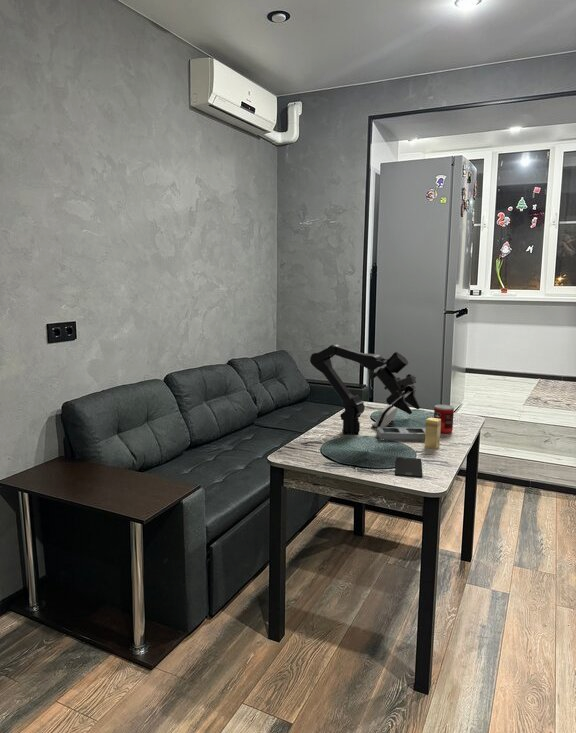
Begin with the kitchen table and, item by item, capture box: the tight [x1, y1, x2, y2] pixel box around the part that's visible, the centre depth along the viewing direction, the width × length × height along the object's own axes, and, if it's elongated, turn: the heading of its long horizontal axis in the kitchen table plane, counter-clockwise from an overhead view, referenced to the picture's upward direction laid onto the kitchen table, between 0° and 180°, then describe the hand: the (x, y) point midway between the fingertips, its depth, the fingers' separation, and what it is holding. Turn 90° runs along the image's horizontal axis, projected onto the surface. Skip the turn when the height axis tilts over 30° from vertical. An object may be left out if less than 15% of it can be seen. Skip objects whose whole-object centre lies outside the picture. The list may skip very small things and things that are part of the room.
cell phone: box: [394, 456, 423, 478], centre depth 185 cm, size 9×18×1 cm, turn 168°
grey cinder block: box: [376, 426, 426, 442], centre depth 220 cm, size 20×9×3 cm, turn 89°
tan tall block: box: [424, 416, 441, 450], centre depth 207 cm, size 5×5×11 cm
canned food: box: [433, 404, 455, 435], centre depth 229 cm, size 8×8×11 cm
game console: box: [370, 404, 399, 429], centre depth 239 cm, size 17×5×10 cm, turn 151°
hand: (415, 411), depth 210 cm, fingers open, 9 cm apart
